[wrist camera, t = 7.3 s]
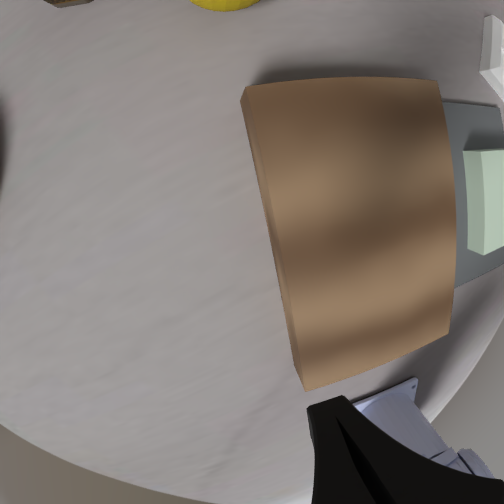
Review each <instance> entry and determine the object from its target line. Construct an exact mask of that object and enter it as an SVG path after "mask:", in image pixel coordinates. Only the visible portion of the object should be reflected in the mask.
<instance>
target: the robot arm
mask: <svg viewBox="0 0 504 504" xmlns="http://www.w3.org/2000/svg"><path fill="white" fill-rule="evenodd" d="M417 385H418V379H417V378H416V377H414V378H411V379H409V380H407V381H405V382H403V383H401V384H399V385H397V386H394V387H392V388H390V389H388V390H385V391H383V392H381V393H378V394H376V395H374V396H371V397H369V398H366V399H364V400H361V401H359V402H356V403H353V404H352V403H351V402H350V401H349V400H348V399H347V398H346V397H345V396H343V395H341V396H338V397H335V398H332V399H329V400H326V401H323V402H320V403H317V404H313V405H310V406H309V407H308V408H307V415H308V422H309V429H310V435H311V439H312V442H313V446H314V452H315V469H314V487H313V496H312V503H311V504H504V482H503V480H501V479H495V478H494V476H493V474H492V473H491V472H490V470H489V469H488V467H487V466H486V465H485V463H484V462H483V461H482V460H481V458H480V457H479V456H478V455H477V454H476V453H475V452H474V451H473V450H471V449H460V450H459V451H458V452H457V454H458V455H457V454H456V453H455V452H454V450H453V449H452V448H449V447H448V446H447V445H446V444H445V442H444V441H443V440H442V438H441V437H440V436H439V434H438V433H437V432H436V430H435V429H434V428H433V427H432V425H431V424H430V423H429V421H428V420H427V419H426V418H425V416H424V415H423V414H422V412H421V411H420V410H419V409H418V407H417V406H416V405H415V404H414V399H415V395H416V390H417ZM458 456H459V457H458Z"/></svg>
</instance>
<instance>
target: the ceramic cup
mask: <svg viewBox="0 0 504 504" xmlns="http://www.w3.org/2000/svg"><path fill="white" fill-rule="evenodd" d="M44 1H46V2H48V3H50V4H52V5H54V6H55V7H57V8H62V7H68V6H74V5H80V4H86V3H90V2H91V1H93V0H44Z"/></svg>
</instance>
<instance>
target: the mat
mask: <svg viewBox="0 0 504 504" xmlns="http://www.w3.org/2000/svg"><path fill="white" fill-rule="evenodd" d="M442 104H443V109H444V114H445V119H446V124H447V129H448V135H449V142H450V148H451V156H452V164H453V173H454V184H455V199H456V269H455V283H454V288H456V287H458V286H460V285H462V284H464V283H466V282H468V281H471V280H473V279H475V278H477V277H479V276H481V275H483V274H484V273H486V272H488V271H490V270H492V269H494V268H496V267H498V266H500V265H502V264H503V263H504V246H503V247H500V248H498V249H496V250H494V251H492V252H490V253H488V254H486V255H481V254H479V253H477V252H474V251H472V250H469V249H467V246H468V210H467V189H466V176H465V166H464V157H463V151H468V150H482V149H499V148H501V149H504V131H503V124H502V119H501V113H500V108H495V107H488V106H480V105H471V104H461V103H448V102H442Z"/></svg>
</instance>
